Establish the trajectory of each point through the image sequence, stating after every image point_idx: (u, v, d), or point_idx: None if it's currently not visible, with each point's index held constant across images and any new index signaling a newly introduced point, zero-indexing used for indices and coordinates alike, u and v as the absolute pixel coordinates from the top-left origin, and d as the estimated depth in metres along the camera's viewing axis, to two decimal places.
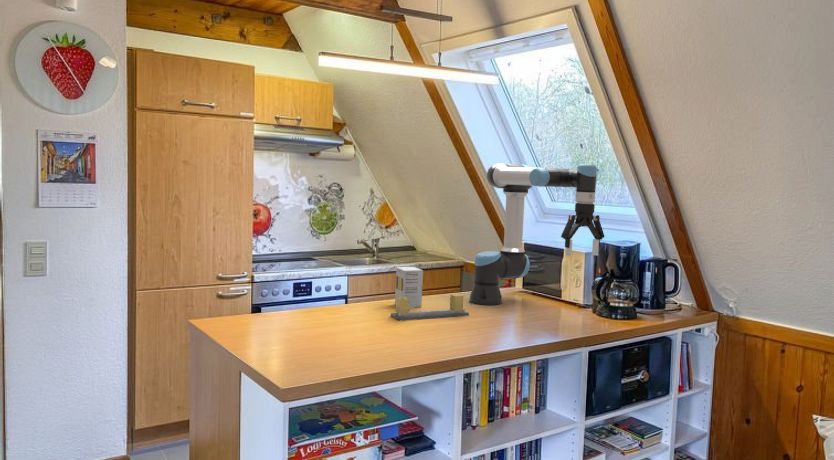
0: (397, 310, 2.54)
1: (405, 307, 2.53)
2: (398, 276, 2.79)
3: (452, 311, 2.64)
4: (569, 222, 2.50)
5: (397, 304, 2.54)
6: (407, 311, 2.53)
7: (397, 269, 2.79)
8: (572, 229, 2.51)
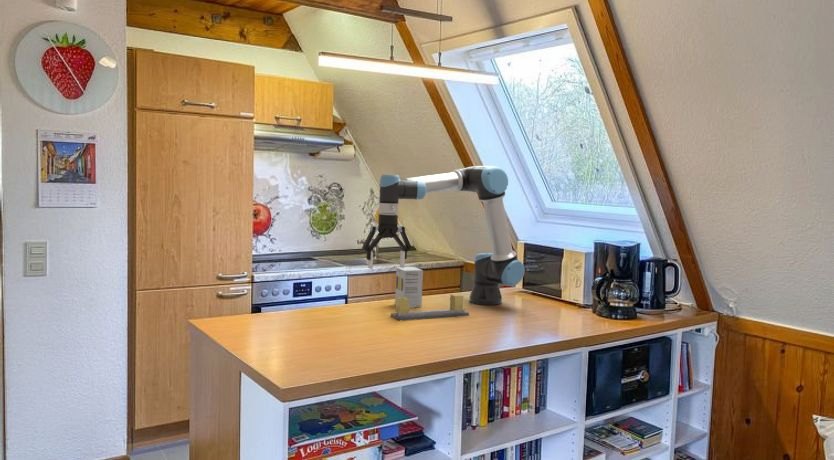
0: (397, 310, 2.54)
1: (405, 307, 2.53)
2: (398, 276, 2.79)
3: (452, 311, 2.64)
4: (370, 234, 2.45)
5: (397, 304, 2.54)
6: (407, 311, 2.53)
7: (397, 269, 2.79)
8: (374, 241, 2.46)
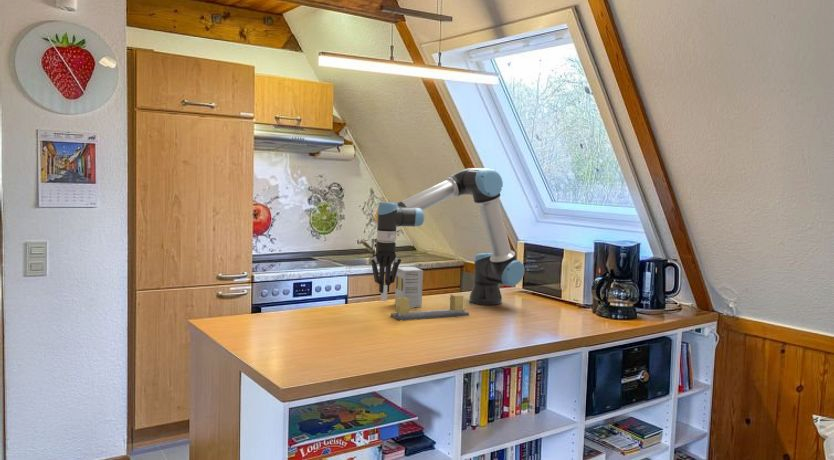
0: (397, 310, 2.54)
1: (405, 307, 2.53)
2: (398, 276, 2.79)
3: (452, 311, 2.64)
4: (373, 267, 2.47)
5: (397, 304, 2.54)
6: (407, 311, 2.53)
7: None
8: (380, 272, 2.49)
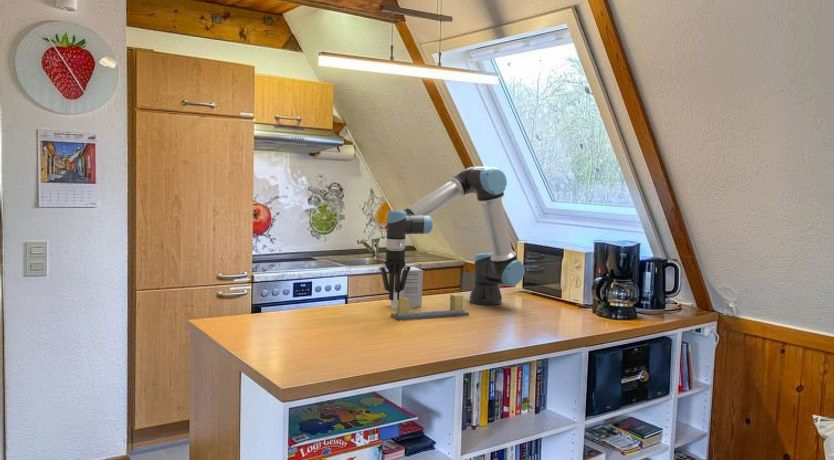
0: (397, 310, 2.54)
1: (405, 307, 2.53)
2: None
3: (452, 311, 2.64)
4: (383, 275, 2.49)
5: (397, 304, 2.54)
6: (407, 311, 2.53)
7: None
8: (390, 280, 2.51)
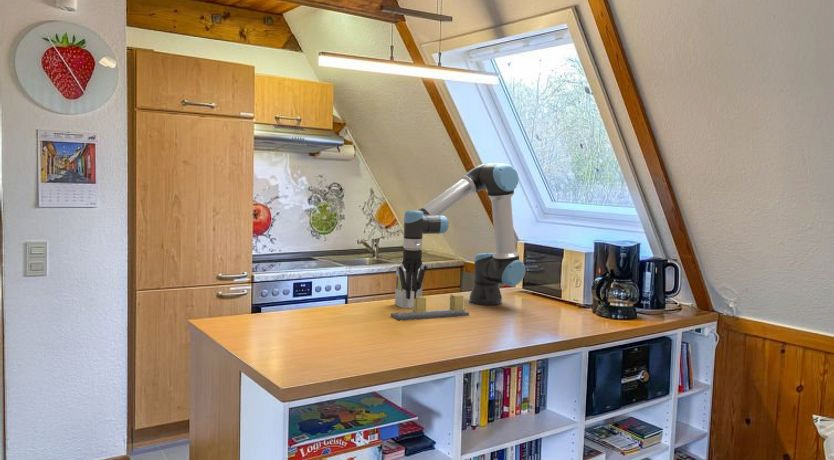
0: (414, 309, 2.57)
1: (422, 306, 2.56)
2: (398, 276, 2.79)
3: (452, 311, 2.64)
4: (400, 274, 2.52)
5: (414, 303, 2.57)
6: (424, 310, 2.56)
7: None
8: (407, 279, 2.54)
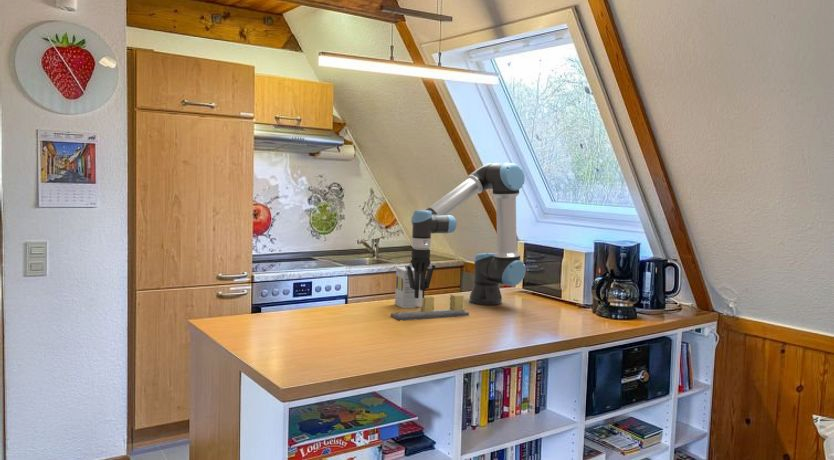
0: (422, 308, 2.59)
1: (430, 306, 2.58)
2: (398, 276, 2.79)
3: (452, 311, 2.64)
4: (408, 273, 2.54)
5: (422, 302, 2.59)
6: (432, 309, 2.58)
7: (397, 269, 2.79)
8: (415, 279, 2.56)
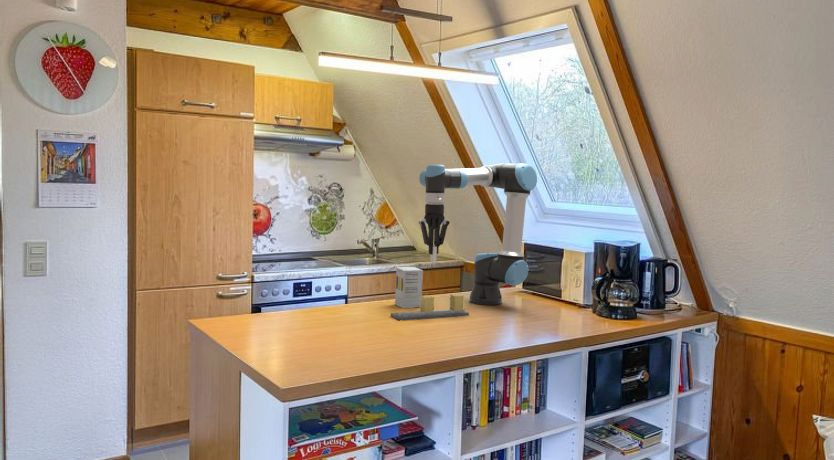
0: (422, 308, 2.59)
1: (430, 306, 2.58)
2: (398, 276, 2.79)
3: (452, 311, 2.64)
4: (422, 229, 2.50)
5: (422, 302, 2.59)
6: (432, 309, 2.58)
7: (397, 269, 2.79)
8: (429, 234, 2.52)
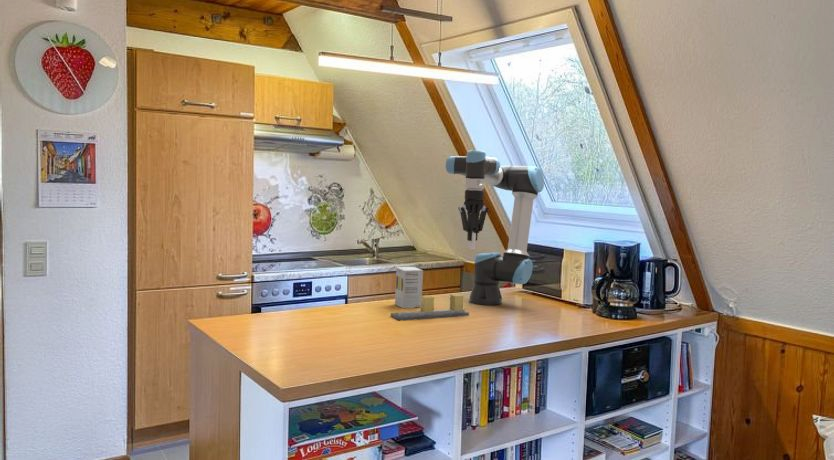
0: (422, 308, 2.59)
1: (430, 306, 2.58)
2: (398, 276, 2.79)
3: (452, 311, 2.64)
4: (462, 215, 2.48)
5: (422, 302, 2.59)
6: (432, 309, 2.58)
7: (397, 269, 2.79)
8: (469, 221, 2.50)
